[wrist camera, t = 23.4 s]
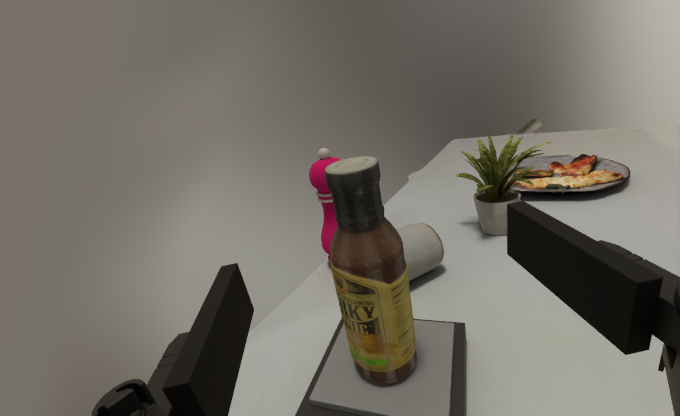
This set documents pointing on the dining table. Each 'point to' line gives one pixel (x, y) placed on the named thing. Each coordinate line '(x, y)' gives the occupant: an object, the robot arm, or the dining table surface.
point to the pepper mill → (324, 197)
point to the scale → (400, 397)
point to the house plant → (497, 183)
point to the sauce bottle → (370, 274)
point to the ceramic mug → (420, 249)
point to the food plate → (570, 173)
